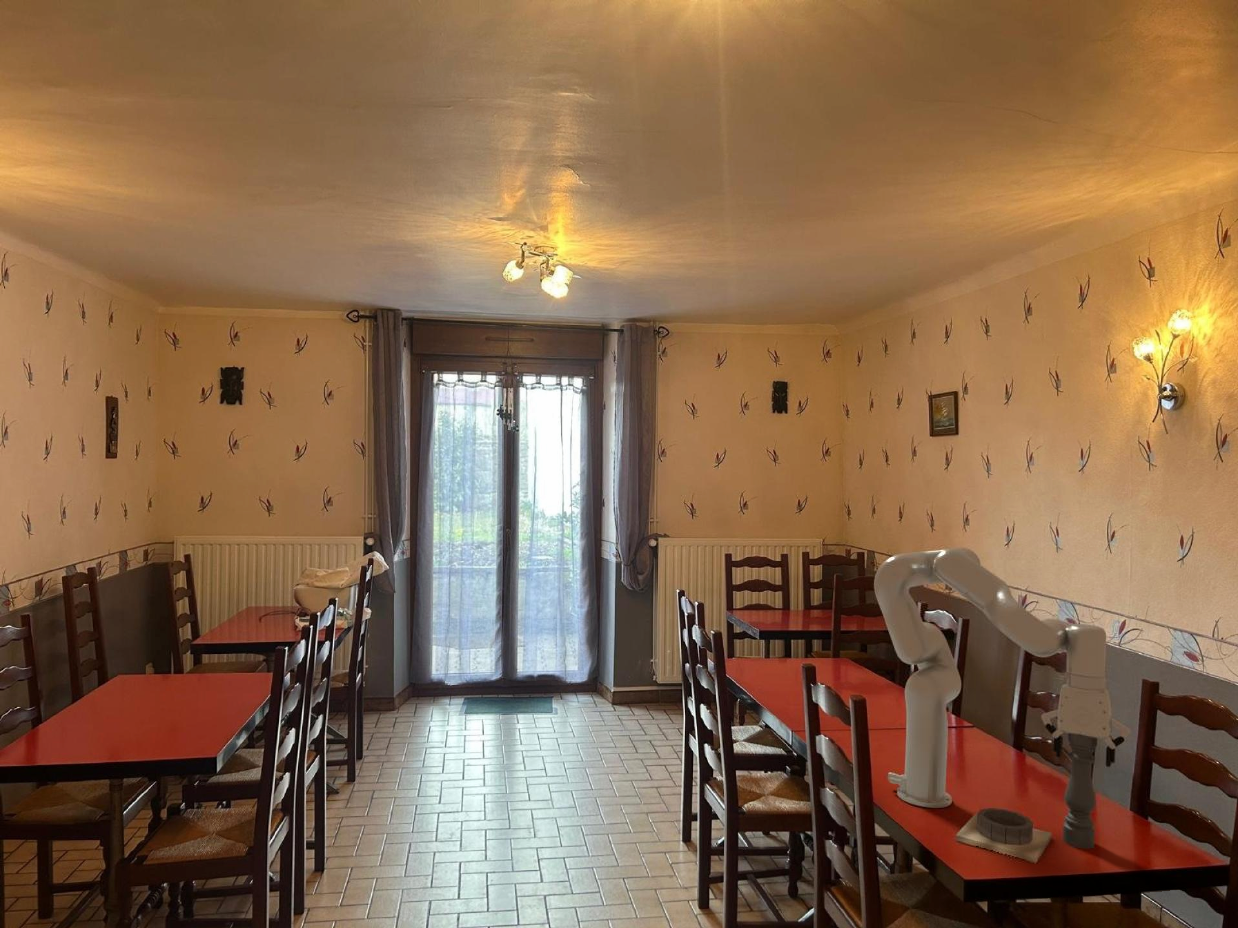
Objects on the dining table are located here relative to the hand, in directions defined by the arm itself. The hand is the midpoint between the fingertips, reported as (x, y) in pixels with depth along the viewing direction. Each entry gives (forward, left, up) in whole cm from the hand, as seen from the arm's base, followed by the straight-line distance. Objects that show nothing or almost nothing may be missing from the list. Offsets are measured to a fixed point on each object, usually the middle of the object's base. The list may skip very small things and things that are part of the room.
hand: (1083, 760), depth 189 cm
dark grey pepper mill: (0, 0, -18) cm, 18 cm away
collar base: (-13, -10, -18) cm, 25 cm away
